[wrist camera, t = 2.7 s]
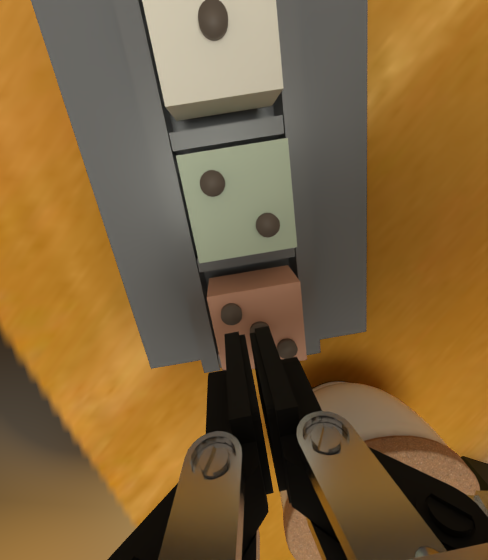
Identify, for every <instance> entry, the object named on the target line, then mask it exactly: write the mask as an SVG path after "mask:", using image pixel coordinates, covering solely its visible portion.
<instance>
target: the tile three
mask: <svg viewBox="0 0 488 560" xmlns="http://www.w3.org/2000/svg"><path fill="white" fill-rule="evenodd" d="M207 301H208V306H209V310H210V315H211V320H212V324H213V329H214V333H215V338H216V343H217V347H218V352H219V356H220V361H221V366H222V370H226V355H225V337H224V334H227V333H232V332H238V331H239V335H243V334H245V338H246V343H247V348H248V353H249V359H250V364H251V369H255V364H254V358H253V352H252V346H251V340H250V334H249V333H254V332H255V331H254V328H260V327H265V326H269V329H270V331H271V334H272V337H273V340H274V342H275V345H276V348H277V351H278V353H279V356H280V359H287V358H292V357H297V358H298V360H299V361H302V360H307V354H306V343H305V331H304V320H303V308H302V296H301V285H300V281H299V279H298V278H297V277H296V275H295V274H294V273H293V271H292V270H291V269H290V267H289V266H288V265H285V266H279V267H273V268H267V269H261V270H255V271H249V272H243V273H237V274H231V275H225V276H219V277H213V278H209V283H208V291H207Z"/></svg>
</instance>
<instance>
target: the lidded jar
mask: <svg viewBox="0 0 488 560" xmlns="http://www.w3.org/2000/svg"><path fill="white" fill-rule="evenodd" d="M312 390H313V392H314V394H315V396H316V398H317V401H318V403H319V405H320V407H321V409H322V411H329V412H332V413H335V414H338V415H340V416H341V417H343V418H345V419H346V420H347V421H348V422H349V423H350V424H351V425H352V426H353V428H354V429H355V430H356V432H357V433H358V434H359V436H360V437H361V438H362V440H363V441H364V442H365V444H366V445H367V446H368V447H370V448H372V449H375V450H377V451H379V452H381V453H383V454H385V455H387V456H389V457H392V458H394V459H396V460H398V461H400V462H402V463H404V464H406V465H409V466H411V467H413V468H415V469H417V470H419V471H421V472H423V473H425V474H428V475H430V476H432V477H434V478H436V479H438V480H440V481H442V482H445V483H447V484H449V485H451V486H453V487H455V488H456V489H458V490H460V491H461V492H463V493H465V494H466V495H475V491H476V490H480V486H479V483H478V480H477V478H476V476H475V475H474V473H473V472H472V471H471V469H470V468H469V467H468V466H467V465H466V463H465V462H464V461H463V460H462V459H461V458H460V457H459V456H458V455H457V454H456V453H455V452H454V451H453V450H451V449H450V448H449V447H448V446H447V445H446V443H445V442H444V441H443V440H442V439H441V438H440V436H439V435H438V434H437V433H436V432H435V431H434V430H433V429H432V428H431V426H430V425H429V424H428V423H427V422H426V421H424V420H423V419H422V418H421V417H420V416H419V415H418V414H417V413H416V412H415V411H413V410H412V409H411V408H410V407H408V406H407V405H406V404H404V403H403V402H402V401H400V400H399V399H398V398H396V397H394V396H392V395H390V394H389V393H387V392H385V391H383V390H381V389H378V388H375V387H372V386H369V385H365V384H359V383H349V382H343V381H335V382H328V383H324V384H322V385H319V386H317V387H315V388H313V389H312ZM280 495H281V502H282V507H283V520H284V530H285V536H286V541H287V544H288V547H289V550H290V551H291V553H292V555H293V556H294V558H295V559H296V560H322V558H321V556H320V553H319V551H318V549H317V546H316V544H315V541H314V539H313V536H312V534H311V531H310V529H309V526H308V523H307V519H306V517H305V516H304V515H303V514H301V513H300V512H298V511H297V510H296V509H294V508H293V507H292V505H291V503H290V504H289V500H288V495H287V491H286V490H285V491H280Z"/></svg>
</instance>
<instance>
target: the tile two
mask: <svg viewBox="0 0 488 560" xmlns="http://www.w3.org/2000/svg"><path fill="white" fill-rule="evenodd" d="M176 159H177V163H178V168H179V172H180V177H181V182H182V186H183V191H184V195H185V200H186V205H187V209H188V214H189V218H190V223H191V228H192V232H193V237H194V241H195V246H196V251H197V255H198V260H199V263H205V262H211V261H217V260H223V259H229V258H235V257H241V256H247V255H253V254H259V253H265V252H271V251H277V250H283V249H289V248H295V247H297V238H296V227H295V215H294V203H293V192H292V180H291V169H290V157H289V145H288V138H283V139H277V140H271V141H265V142H258V143H252V144H246V145H240V146H233V147H227V148H221V149H215V150H208V151H202V152H196V153H190V154H183V155H177V156H176Z"/></svg>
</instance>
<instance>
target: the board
mask: <svg viewBox="0 0 488 560" xmlns="http://www.w3.org/2000/svg"><path fill="white" fill-rule="evenodd" d="M31 2H32V5H33V8H34V11H35V14H36V17H37V20H38V23H39V26H40V30H41V33H42V36H43V39H44V42H45V45H46V48H47V51H48V54H49V57H50V60H51V63H52V66H53V69H54V72H55V76H56V79H57V82H58V85H59V88H60V91H61V94H62V97H63V100H64V103H65V106H66V109H67V112H68V115H69V118H70V121H71V125H72V128H73V131H74V134H75V137H76V140H77V143H78V146H79V149H80V152H81V155H82V158H83V161H84V164H85V167H86V171H87V174H88V177H89V180H90V183H91V186H92V189H93V192H94V195H95V198H96V201H97V204H98V207H99V210H100V213H101V216H102V220H103V223H104V226H105V229H106V232H107V235H108V238H109V241H110V244H111V247H112V250H113V253H114V256H115V259H116V262H117V266H118V269H119V272H120V275H121V278H122V281H123V284H124V287H125V290H126V293H127V296H128V299H129V302H130V305H131V308H132V311H133V315H134V318H135V321H136V324H137V327H138V330H139V333H140V336H141V339H142V342H143V345H144V348H145V351H146V354H147V357H148V361H149V364H150V367H151V369H152V368H158V367H163V366H169V365H175V364H181V363H187V362H192V361H198V360H201V362H202V366H203V370H204V373H207V372H213V371H218V370H220V368H222V366H221V361H220V356H219V352H218V347H217V343H216V338H215V333H214V329H213V324H212V320H211V315H210V310H209V306H208V301H207V291H208V283H209V278H213V277H219V276H225V275H231V274H237V273H243V272H249V271H255V270H261V269H267V268H273V267H279V266H285V265H288V266H289V267H290V269H291V270H292V271H293V273H294V274H295V275H296V277H297V278H298V279H299V281H300V285H301V296H302V308H303V320H304V331H305V343H306V354H307V355H311V354H317V353H321V351H320V339H326V338H331V337H337V336H343V335H349V334H355V333H360V332H366V263H367V0H276V6H277V17H278V29H279V41H280V52H281V64H282V76H283V87H284V89H283V90H282V91H281V93H280V94H279V96H278V97H277V99H276V100H275V102H274V103H273V105H272V106H268V107H262V108H256V109H249V110H243V111H237V112H230V113H224V114H218V115H211V116H205V117H199V118H192V119H186V120H180V121H176V120H175V119H174V117H173V116H172V115H171V114H170V112H169V111H168V110H167V108H166V107H165V103H164V99H163V94H162V90H161V85H160V80H159V76H158V71H157V67H156V62H155V57H154V53H153V48H152V44H151V39H150V34H149V30H148V25H147V21H146V16H145V11H144V7H143V2H142V0H31ZM283 138H288V145H289V157H290V169H291V180H292V192H293V203H294V215H295V227H296V238H297V247H295V248H289V249H283V250H277V251H271V252H265V253H259V254H253V255H247V256H241V257H235V258H229V259H223V260H217V261H211V262H205V263H199V260H198V255H197V251H196V246H195V241H194V237H193V232H192V228H191V223H190V218H189V214H188V209H187V205H186V200H185V195H184V191H183V186H182V182H181V177H180V172H179V168H178V163H177V159H176V156H177V155H183V154H190V153H196V152H202V151H208V150H215V149H221V148H227V147H233V146H240V145H246V144H252V143H258V142H265V141H271V140H277V139H283Z"/></svg>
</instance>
